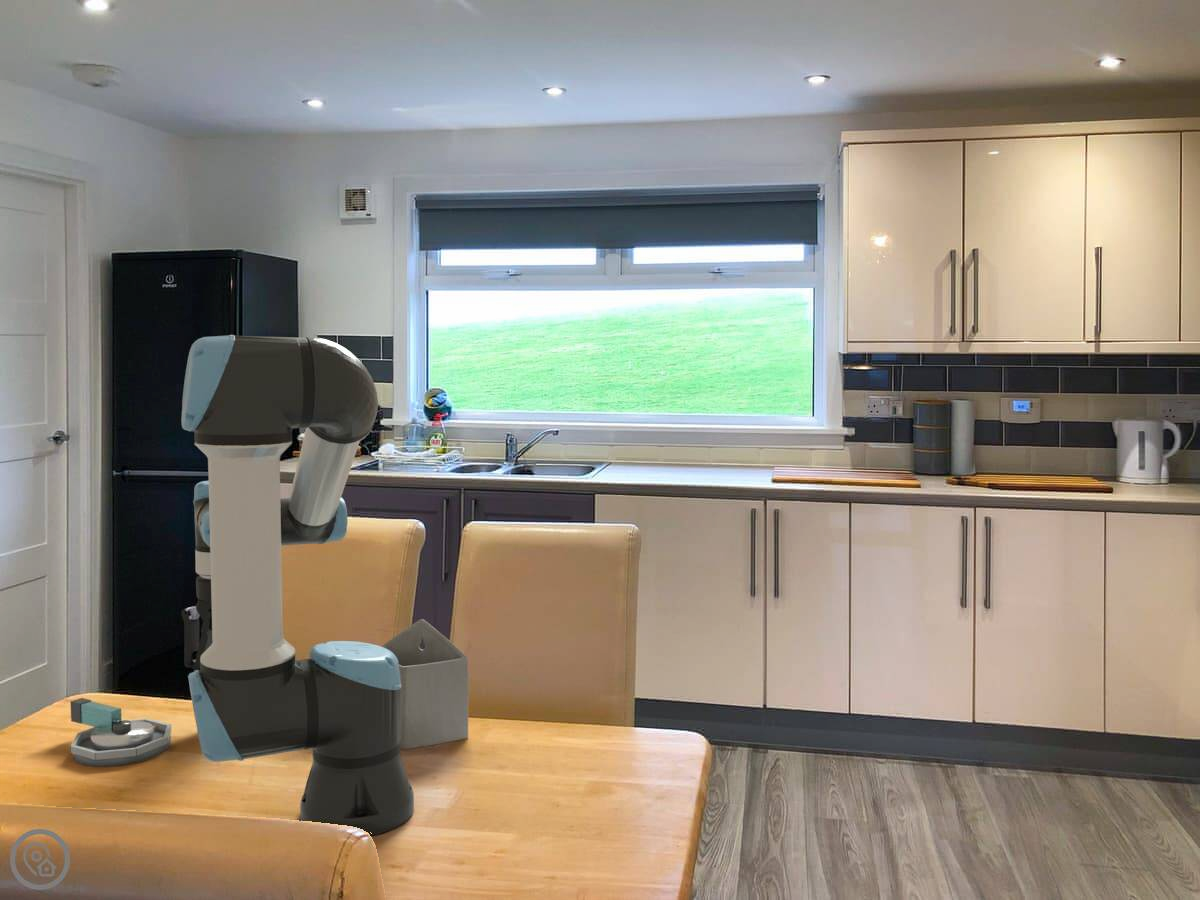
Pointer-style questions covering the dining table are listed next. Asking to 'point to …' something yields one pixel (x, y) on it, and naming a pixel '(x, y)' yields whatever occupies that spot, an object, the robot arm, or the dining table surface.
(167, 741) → the housing
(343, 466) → the robot arm
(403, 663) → the planter
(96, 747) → the dial
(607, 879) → the dining table surface
